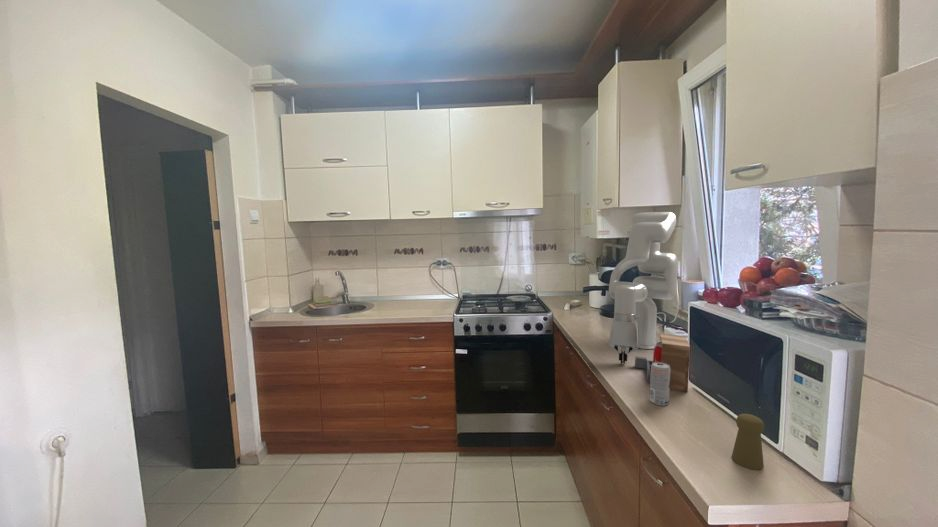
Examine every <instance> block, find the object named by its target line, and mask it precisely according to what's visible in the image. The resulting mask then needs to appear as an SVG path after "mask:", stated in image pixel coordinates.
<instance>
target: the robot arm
mask: <svg viewBox="0 0 938 527" xmlns="http://www.w3.org/2000/svg"><path fill="white" fill-rule="evenodd" d="M631 225H632V226H631V228H630V231H629V236H628V237H629V238H628V243H627V249H626V254H625V257H624V258H623V259H622V260H621V261H619V262H618V263H617V264H616V265H615V267H614V268H613V270H612V272H611V275H610V278H609V284H608V295H609V297H611V298H612V299H613V300H614V305H613V306H614V310H613V311H614V313H613V314H614V315H613V318H611V322H610V328H609V343H608V347H610V348H613V349H615V351H616V352H618V361H620V364H623V365H625V364H626V362H628V354H629V353H631V351H637V350H639V349H643V350H654V347H655V346H656V343H657V342H658V341H656V340H657V337H656V335H657V316H658V308H657V305H656V303H655V302H654V300H653V299H657V300H665V301H671V300H673V299H674V298H675V297H676V294H677V289H678V288H677V287H678V274H679V273H678V272H679V260H678V257H677V255H676V254H675V253H671V252H661V251H660V250H661V244H663V243H664V244H665V243H666V242H669V241H668V240H669V239H670V238H671V236H672V234H673V232H674V230H675V228H676V225H677V217H676V214H675V213H673V212H671V211H660V212H659V211H657V212H656V211H653V212H652V211H650V212H649V211H648V212H639V213H635V214H634V215H633V216H632V218H631ZM634 267H637V268H638V271H639V272H641V273H644V274H651V275H663V276H664V277H660V276H658V277H657V276H649V275H648V276H647V275H645V276H644V275H641V276H637V277H635V278H634V279H633V280H632V282H630V281H620V278H621V276H622V275H623V274H624V273H625V272H626V271H627V270H629V269H632V268H634ZM622 347H625V348H624V350H622Z"/></svg>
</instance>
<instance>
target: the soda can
mask: <svg viewBox="0 0 938 527" xmlns="http://www.w3.org/2000/svg"><path fill="white" fill-rule="evenodd" d="M656 342H657V343H656V346H655V347H654V349H653V352H652V353H653V354H652V355H653V356H652V361H653V362H661V357H662V345H661V341H659V342H658V341H656Z"/></svg>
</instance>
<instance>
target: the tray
mask: <svg viewBox="0 0 938 527" xmlns="http://www.w3.org/2000/svg"><path fill="white" fill-rule="evenodd" d="M634 357H635V358H634V368H636V369H643V370H646V377H647V383H648V384H650V378H651V365H652V363H653V360H648V357H646V356H645V357H644V356H637V355H635V356H634Z"/></svg>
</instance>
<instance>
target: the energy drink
mask: <svg viewBox="0 0 938 527" xmlns="http://www.w3.org/2000/svg"><path fill="white" fill-rule="evenodd" d="M670 370H671V369H670V366H669V365H668V364H666V363H662V362H653V363H652V365H651V378H650V383H649V401H650V402H651V403H652V404H654V405H656V406H662V407H663V406H664V407H666V406H668V405H669V402H670Z"/></svg>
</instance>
